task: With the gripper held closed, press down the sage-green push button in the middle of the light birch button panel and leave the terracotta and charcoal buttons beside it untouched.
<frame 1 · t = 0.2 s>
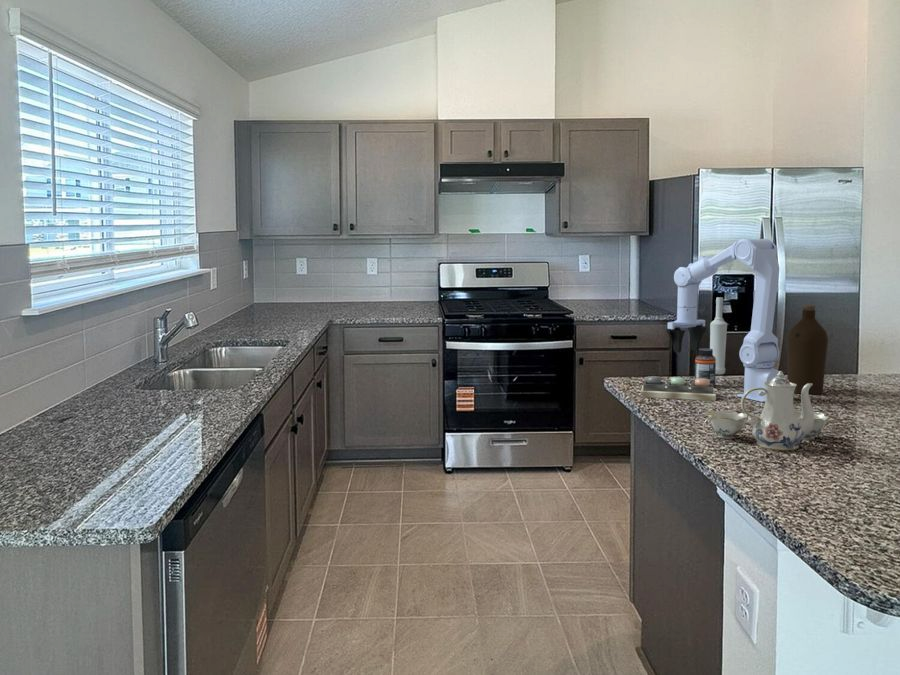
hand: (685, 351, 237), 10 cm above the countertop, tool pointing down, fingers open, 7 cm apart
panel: (677, 395, 219), on the countertop
button charcoal: (654, 380, 220), point 4 cm above the countertop, slide at 0.0 cm
olive oil: (804, 392, 223), on the countertop
button terracotta: (702, 382, 217), point 4 cm above the countertop, slide at 0.0 cm
bottle: (716, 373, 255), on the countertop
button sage: (678, 381, 218), point 4 cm above the countertop, slide at 0.0 cm
chinaware: (772, 443, 169), on the countertop
supplement bottle: (704, 386, 233), on the countertop
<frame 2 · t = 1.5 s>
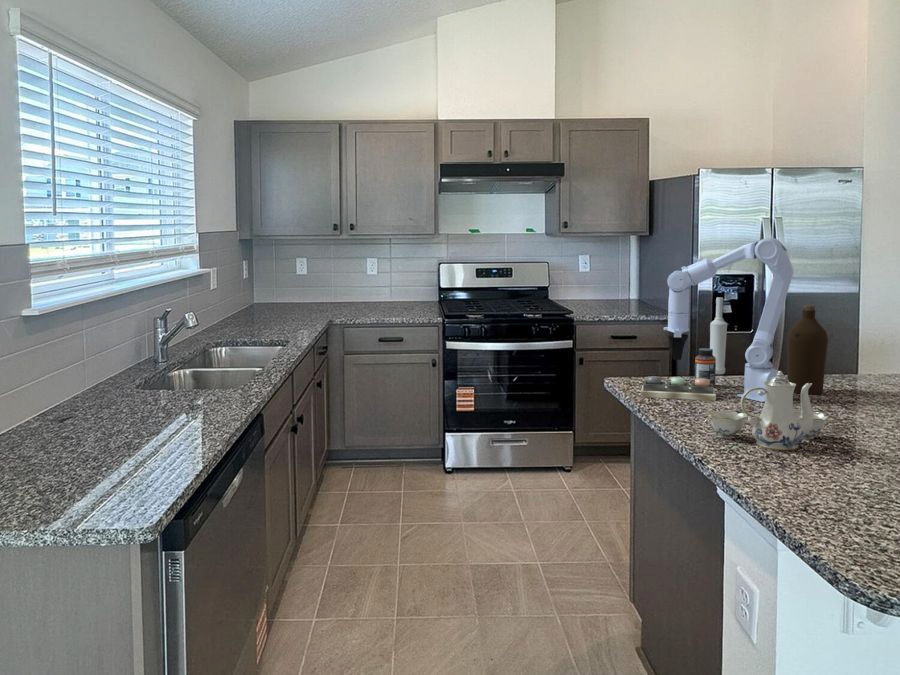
hand: (677, 359, 224), 9 cm above the countertop, tool pointing down, fingers closed
nothing on the countertop moved.
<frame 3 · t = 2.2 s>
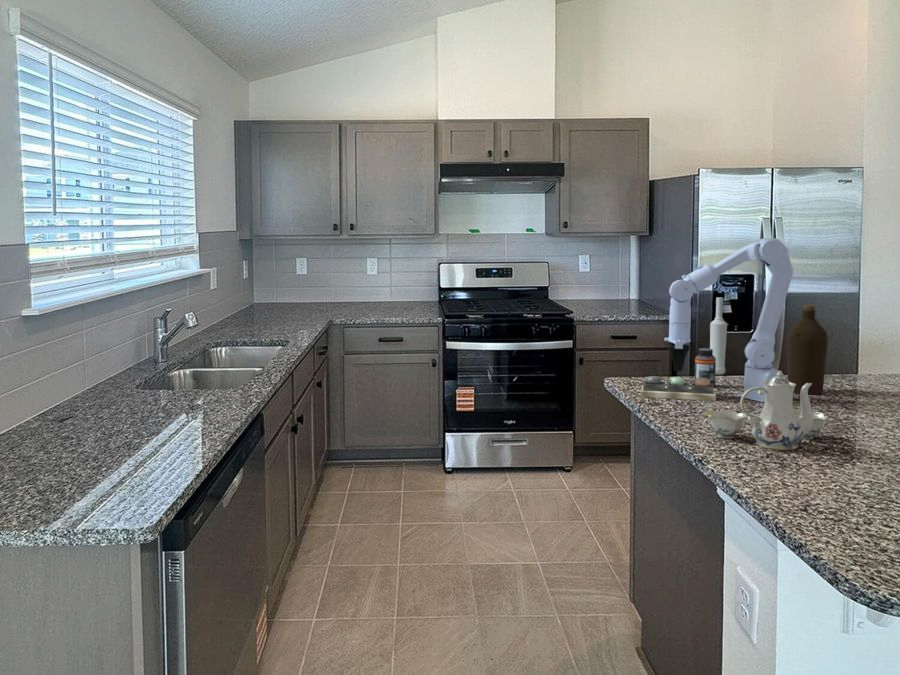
hand: (678, 370, 218), 7 cm above the countertop, tool pointing down, fingers closed
nothing on the countertop moved.
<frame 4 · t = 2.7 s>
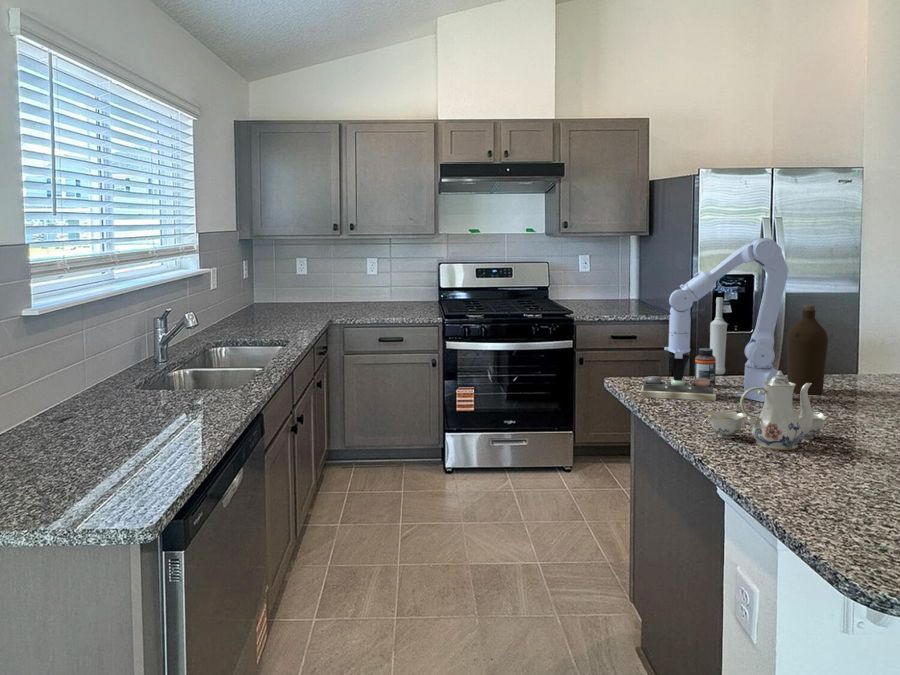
hand: (678, 380, 218), 4 cm above the countertop, tool pointing down, fingers closed, pressing on button sage
button sage: (678, 383, 218), point 3 cm above the countertop, slide at 0.5 cm, touching gripper
everything else where it was.
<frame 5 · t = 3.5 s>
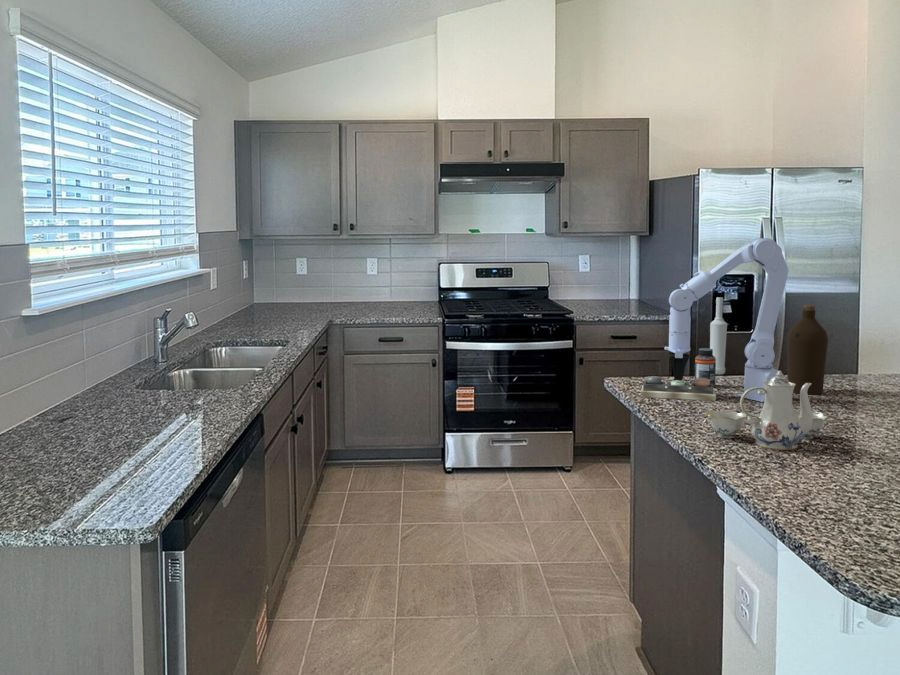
hand: (678, 379, 218), 5 cm above the countertop, tool pointing down, fingers closed
button sage: (678, 385, 219), point 3 cm above the countertop, slide at 1.0 cm
everything else where it was.
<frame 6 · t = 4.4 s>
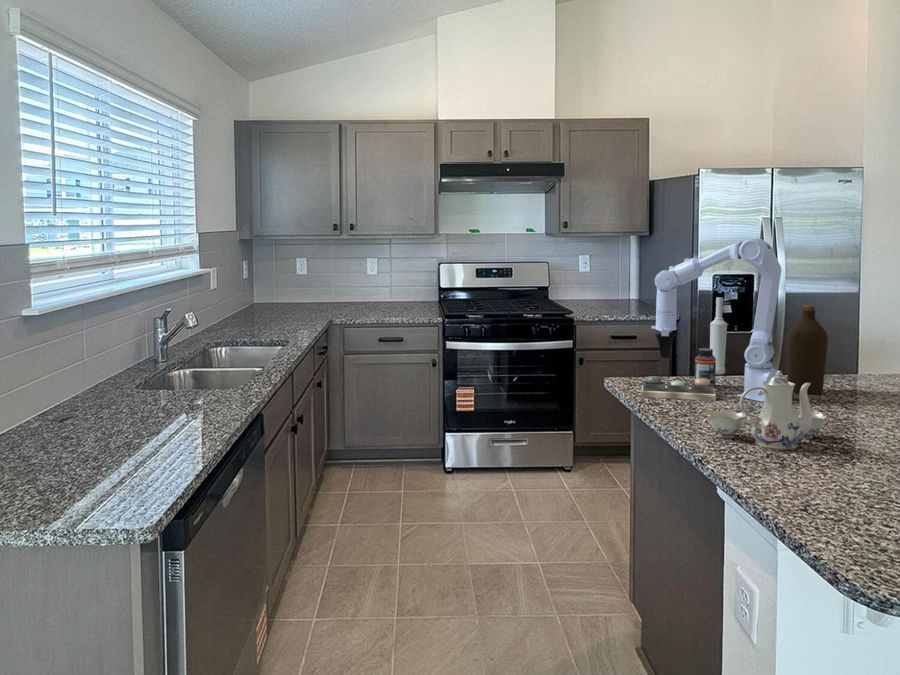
hand: (664, 357, 227), 9 cm above the countertop, tool pointing down, fingers closed
nothing on the countertop moved.
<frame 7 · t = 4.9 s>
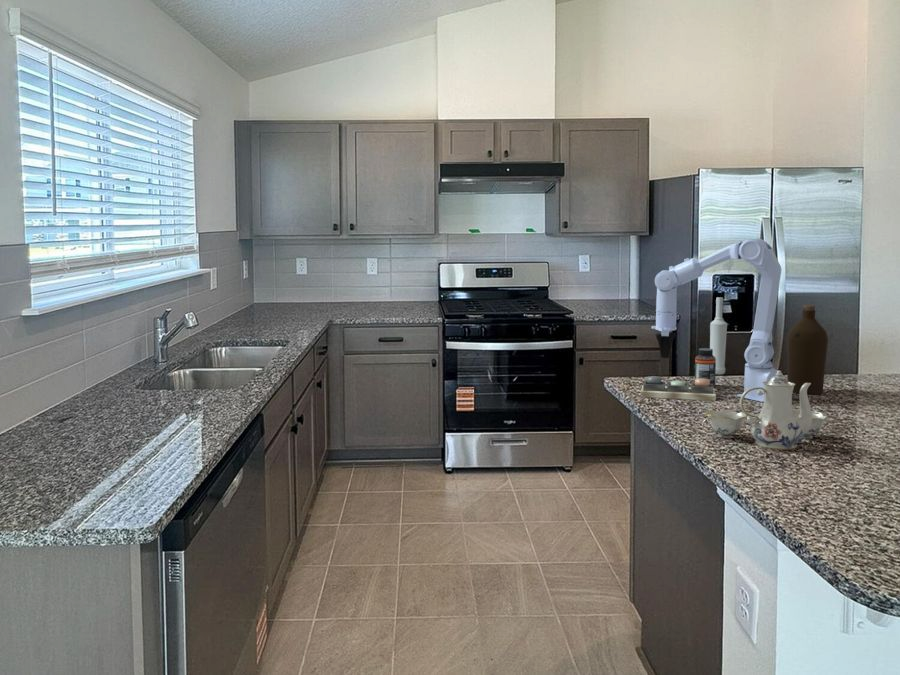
hand: (664, 357, 227), 9 cm above the countertop, tool pointing down, fingers closed
nothing on the countertop moved.
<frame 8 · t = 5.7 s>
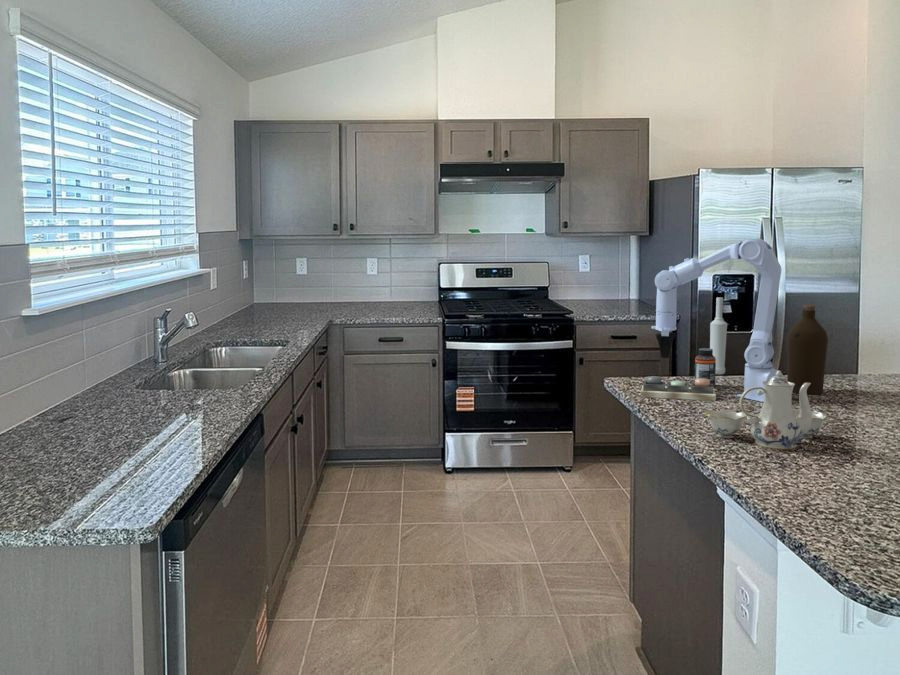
hand: (664, 357, 227), 9 cm above the countertop, tool pointing down, fingers closed
nothing on the countertop moved.
at the end: button sage slide at 1.0 cm; button terracotta slide at 0.0 cm; button charcoal slide at 0.0 cm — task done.
